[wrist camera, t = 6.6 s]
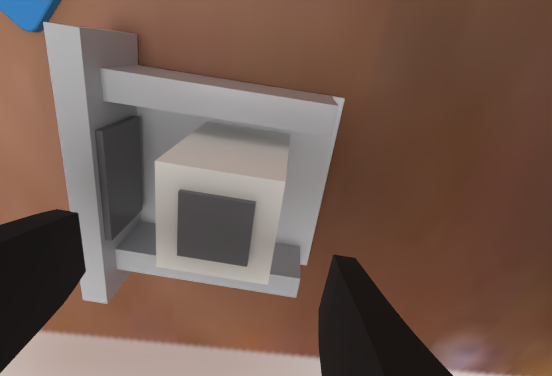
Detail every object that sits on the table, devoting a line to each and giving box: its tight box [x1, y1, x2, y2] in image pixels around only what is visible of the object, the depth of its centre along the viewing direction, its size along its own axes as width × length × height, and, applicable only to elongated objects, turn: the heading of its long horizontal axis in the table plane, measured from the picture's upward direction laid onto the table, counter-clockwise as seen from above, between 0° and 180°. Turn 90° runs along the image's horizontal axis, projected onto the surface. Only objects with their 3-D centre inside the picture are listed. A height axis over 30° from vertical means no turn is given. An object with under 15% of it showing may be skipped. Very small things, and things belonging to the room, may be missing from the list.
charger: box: [155, 121, 290, 285], centre depth 13 cm, size 4×4×6 cm
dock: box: [43, 22, 345, 304], centre depth 14 cm, size 11×12×4 cm
